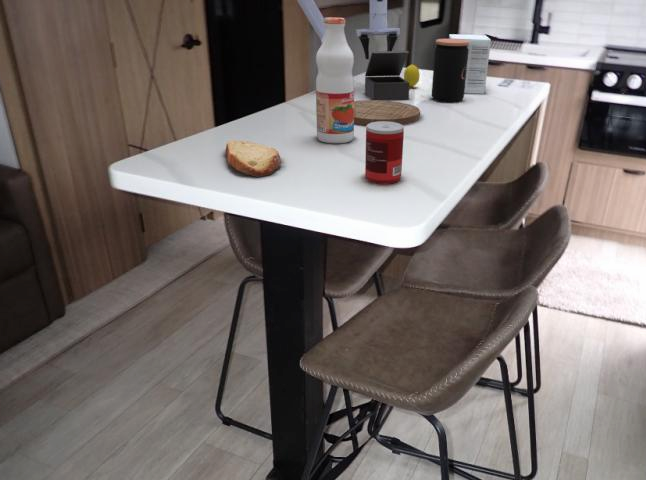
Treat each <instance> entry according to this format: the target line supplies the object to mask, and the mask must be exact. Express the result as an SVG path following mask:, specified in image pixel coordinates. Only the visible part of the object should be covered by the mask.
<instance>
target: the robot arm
mask: <svg viewBox="0 0 646 480" xmlns="http://www.w3.org/2000/svg"><path fill="white" fill-rule="evenodd" d="M296 1H297V3H298V5H299V6H300V8H301V10H302V12H303V13H304V15H305V17H306V18H307V20H308V21H309V23H310V25H311V27H312V28H313V30H314V31H315V33H316V35H317V36H318V37H317V38H318V39H319V40H320V41H321V44H322V43H323V40H324V36H325V31H326V27H325V25H324V19H325V17H324V16H323V14H322V13H321V11H320V9H319V8H318V6H317V4H316V3H315V1H314V0H296ZM387 19H388V0H369V28H358V29H357V28H356V29H355V31H356V33H355V34H356V37H359V38H358V39H359V41H360V43H361V46H362V49H363V52H364V58H365V60H370V52H369V51H370V38H369V37H370V36H386V46H387V47H386V51H394V46H395V44H396V43H397V42H396V41H397V40H398V36H400V35H401V28H400V27H388V20H387Z"/></svg>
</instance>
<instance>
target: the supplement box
mask: <svg viewBox="0 0 646 480" xmlns="http://www.w3.org/2000/svg"><path fill="white" fill-rule="evenodd" d="M448 39H462V40H468V41H469V45H468V46H467V48H468V50H469V51H468V61H467V71H466V81H465V90H464V94H478V95H479V94H481V95H483V94H486V84H487V76H488V67H489V60H490V50H491V44H492V39H491V38H489V36H487V35H486V34H460V33H459V34H458V33H457V34H454V33H452V34H451V33H450V34H448Z"/></svg>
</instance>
